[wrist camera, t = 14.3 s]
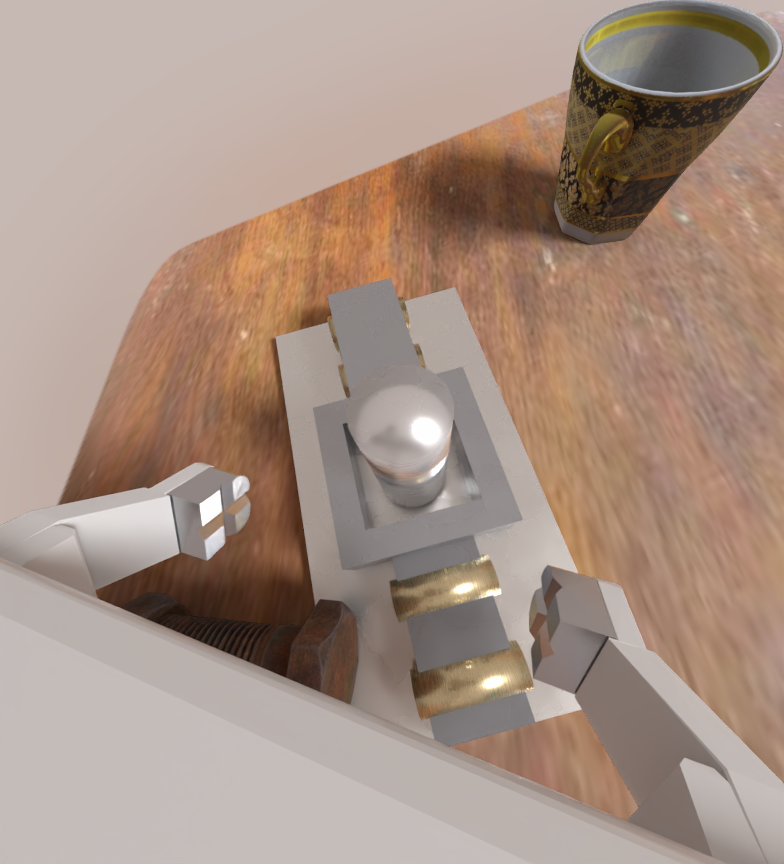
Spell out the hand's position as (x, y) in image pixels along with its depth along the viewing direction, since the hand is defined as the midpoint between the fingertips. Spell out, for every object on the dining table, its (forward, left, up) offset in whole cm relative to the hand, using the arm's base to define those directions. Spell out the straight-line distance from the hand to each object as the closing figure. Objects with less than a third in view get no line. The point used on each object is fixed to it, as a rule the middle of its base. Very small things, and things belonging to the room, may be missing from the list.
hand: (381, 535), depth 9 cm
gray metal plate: (+1, +4, -12) cm, 13 cm away
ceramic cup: (+20, +20, -12) cm, 31 cm away
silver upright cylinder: (+1, +4, -11) cm, 12 cm away
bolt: (-11, -2, -12) cm, 16 cm away
